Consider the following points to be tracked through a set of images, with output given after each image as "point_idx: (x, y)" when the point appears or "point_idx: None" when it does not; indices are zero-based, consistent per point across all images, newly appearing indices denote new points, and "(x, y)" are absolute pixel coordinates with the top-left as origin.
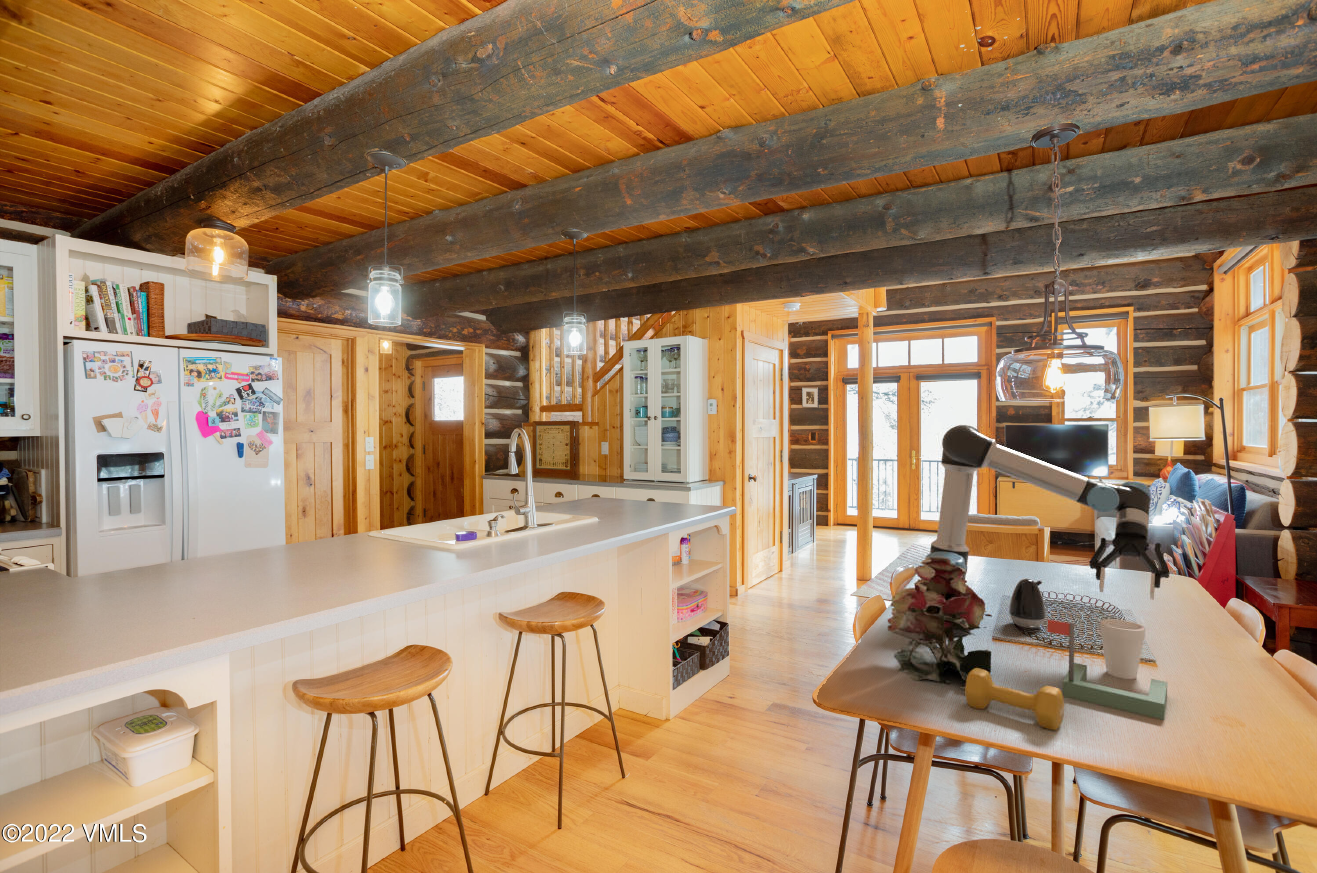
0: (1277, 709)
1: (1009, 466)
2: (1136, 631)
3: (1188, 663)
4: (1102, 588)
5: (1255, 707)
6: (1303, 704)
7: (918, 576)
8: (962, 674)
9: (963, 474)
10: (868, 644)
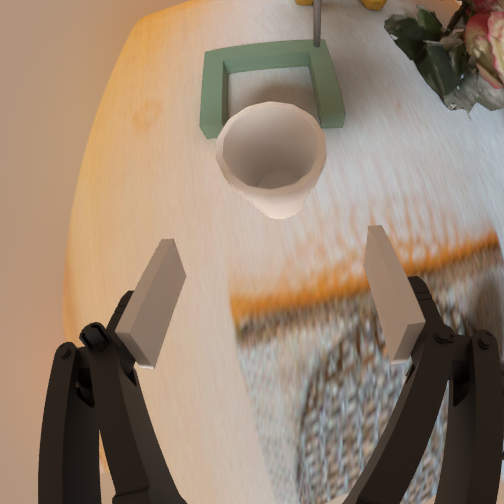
0: (91, 207)
1: None
2: (233, 117)
3: (184, 364)
4: (367, 238)
5: (110, 192)
6: (67, 255)
7: None
8: (414, 22)
9: None
10: None
